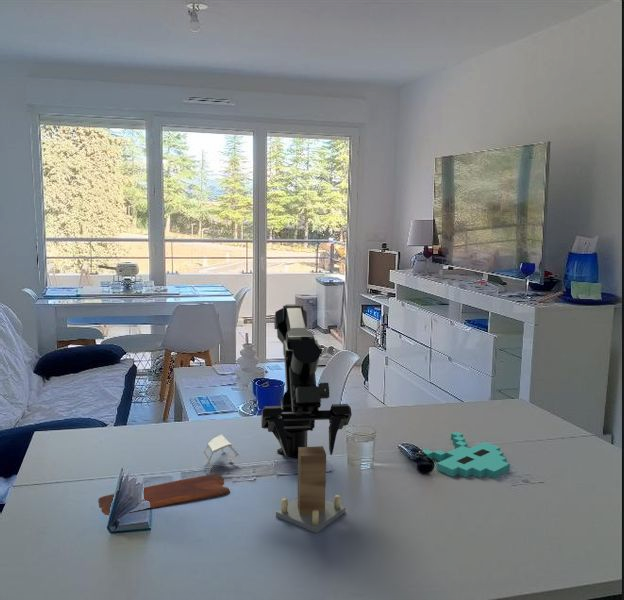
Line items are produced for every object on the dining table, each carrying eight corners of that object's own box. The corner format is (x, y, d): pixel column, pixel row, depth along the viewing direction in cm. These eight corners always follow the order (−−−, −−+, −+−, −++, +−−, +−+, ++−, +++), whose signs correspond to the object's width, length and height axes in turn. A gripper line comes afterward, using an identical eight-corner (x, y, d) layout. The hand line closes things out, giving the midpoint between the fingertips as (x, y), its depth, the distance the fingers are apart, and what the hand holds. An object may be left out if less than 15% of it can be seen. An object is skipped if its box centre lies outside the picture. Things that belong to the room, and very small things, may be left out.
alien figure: (407, 459, 149) (476, 489, 134) (407, 450, 149) (477, 480, 134) (455, 439, 162) (524, 464, 147) (456, 431, 162) (524, 456, 147)
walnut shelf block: (297, 505, 123) (298, 447, 121) (321, 504, 124) (323, 446, 121) (299, 515, 119) (300, 455, 117) (324, 514, 120) (326, 454, 118)
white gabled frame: (240, 470, 141) (240, 450, 140) (203, 472, 139) (203, 452, 138) (236, 449, 152) (236, 430, 152) (202, 451, 151) (202, 432, 150)
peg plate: (305, 497, 128) (305, 481, 128) (345, 511, 123) (345, 495, 122) (275, 516, 120) (276, 500, 120) (316, 533, 115) (317, 516, 114)
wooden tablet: (219, 477, 138) (219, 470, 138) (232, 496, 129) (232, 489, 129) (96, 497, 128) (96, 490, 127) (101, 521, 118) (100, 513, 118)
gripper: (262, 369, 124) (265, 441, 115) (351, 367, 127) (361, 438, 118) (260, 393, 133) (262, 462, 125) (343, 391, 136) (351, 458, 127)
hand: (309, 455), depth 123 cm, fingers open, 9 cm apart
